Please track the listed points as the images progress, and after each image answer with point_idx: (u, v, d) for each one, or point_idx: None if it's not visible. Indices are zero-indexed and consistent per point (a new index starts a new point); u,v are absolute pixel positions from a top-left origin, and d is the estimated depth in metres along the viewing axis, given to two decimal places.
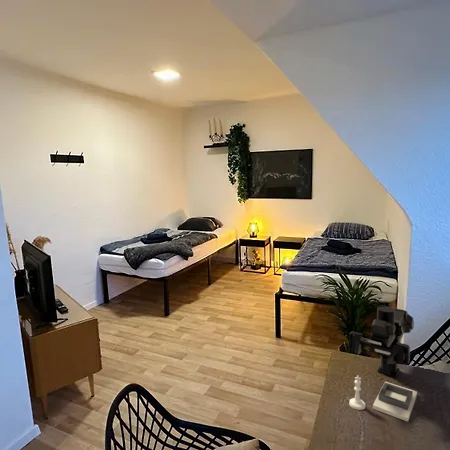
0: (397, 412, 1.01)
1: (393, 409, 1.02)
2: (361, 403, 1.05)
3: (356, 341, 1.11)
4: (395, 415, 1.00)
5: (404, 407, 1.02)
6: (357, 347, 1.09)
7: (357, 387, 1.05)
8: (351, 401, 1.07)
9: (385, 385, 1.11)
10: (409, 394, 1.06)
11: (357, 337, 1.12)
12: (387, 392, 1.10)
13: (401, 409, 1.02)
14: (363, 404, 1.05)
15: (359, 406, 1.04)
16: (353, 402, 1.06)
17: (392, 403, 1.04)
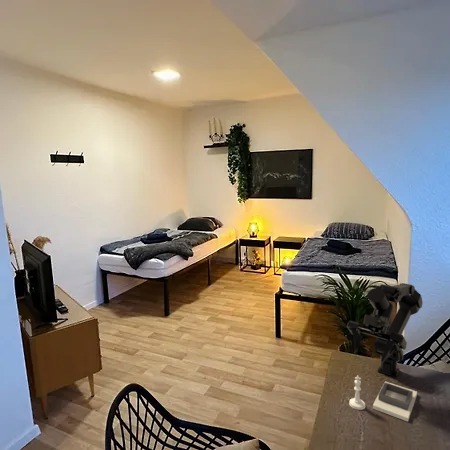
0: (397, 412, 1.01)
1: (393, 409, 1.02)
2: (361, 403, 1.05)
3: (353, 335, 1.16)
4: (395, 415, 1.00)
5: (404, 407, 1.02)
6: (355, 344, 1.14)
7: (357, 387, 1.05)
8: (351, 401, 1.07)
9: (385, 385, 1.11)
10: (409, 394, 1.06)
11: (354, 331, 1.16)
12: (387, 392, 1.10)
13: (401, 409, 1.02)
14: (363, 404, 1.05)
15: (359, 406, 1.04)
16: (353, 402, 1.06)
17: (392, 403, 1.04)
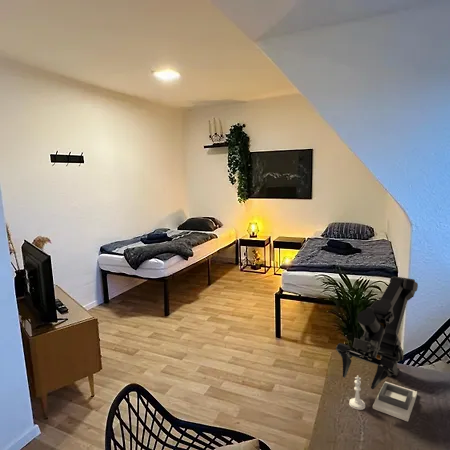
0: (397, 412, 1.01)
1: (393, 409, 1.02)
2: (361, 403, 1.05)
3: (343, 359, 1.11)
4: (395, 415, 1.00)
5: (404, 407, 1.02)
6: (344, 369, 1.09)
7: (357, 387, 1.05)
8: (351, 401, 1.07)
9: (385, 385, 1.11)
10: (409, 394, 1.06)
11: (343, 354, 1.11)
12: (387, 392, 1.10)
13: (401, 409, 1.02)
14: (363, 404, 1.05)
15: (359, 406, 1.04)
16: (353, 402, 1.06)
17: (392, 403, 1.04)
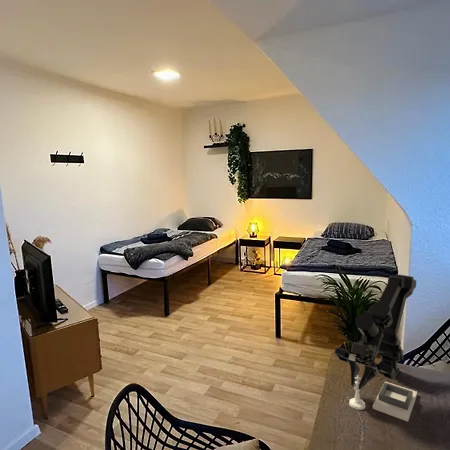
0: (397, 412, 1.01)
1: (393, 409, 1.02)
2: (361, 403, 1.05)
3: (351, 367, 1.08)
4: (395, 415, 1.00)
5: (404, 407, 1.02)
6: (352, 377, 1.06)
7: (357, 387, 1.05)
8: (351, 401, 1.07)
9: (385, 385, 1.11)
10: (409, 394, 1.06)
11: (351, 362, 1.08)
12: (387, 392, 1.10)
13: (401, 409, 1.02)
14: (363, 404, 1.05)
15: (359, 406, 1.04)
16: (353, 402, 1.06)
17: (392, 403, 1.04)
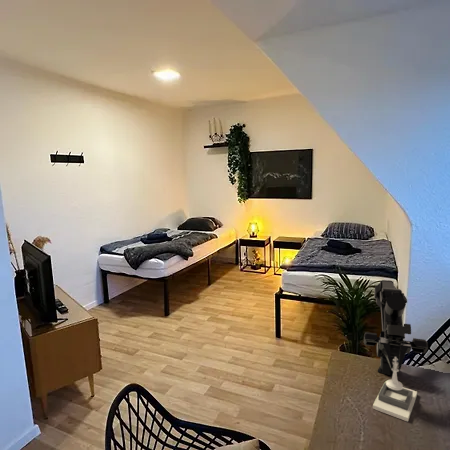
0: (397, 412, 1.01)
1: (393, 409, 1.02)
2: (399, 383, 1.06)
3: (386, 349, 1.08)
4: (395, 415, 1.00)
5: (404, 407, 1.02)
6: (390, 359, 1.06)
7: (395, 368, 1.06)
8: (389, 383, 1.06)
9: (385, 385, 1.11)
10: (409, 394, 1.06)
11: (386, 345, 1.08)
12: (387, 392, 1.10)
13: (401, 409, 1.02)
14: (401, 383, 1.06)
15: (399, 386, 1.05)
16: (392, 384, 1.06)
17: (392, 403, 1.04)
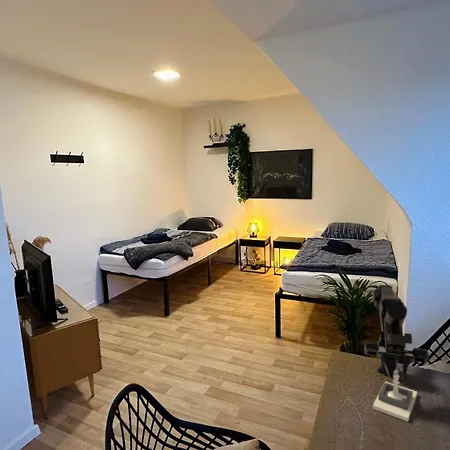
0: (397, 412, 1.01)
1: (393, 409, 1.02)
2: (400, 395, 1.07)
3: (384, 358, 1.08)
4: (395, 415, 1.00)
5: (404, 407, 1.02)
6: (388, 368, 1.07)
7: (396, 380, 1.06)
8: (390, 396, 1.07)
9: (385, 385, 1.11)
10: (409, 394, 1.06)
11: (384, 354, 1.08)
12: (387, 392, 1.10)
13: (401, 409, 1.02)
14: (402, 396, 1.07)
15: (400, 399, 1.05)
16: (393, 396, 1.06)
17: (392, 403, 1.04)
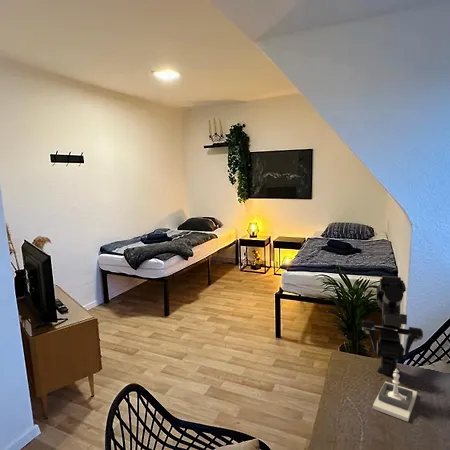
0: (397, 412, 1.01)
1: (393, 409, 1.02)
2: (400, 395, 1.07)
3: (371, 335, 1.14)
4: (395, 415, 1.00)
5: (404, 407, 1.02)
6: (374, 344, 1.13)
7: (396, 380, 1.06)
8: (390, 396, 1.07)
9: (385, 385, 1.11)
10: (409, 394, 1.06)
11: (371, 331, 1.14)
12: (387, 392, 1.10)
13: (401, 409, 1.02)
14: (402, 396, 1.07)
15: (400, 399, 1.05)
16: (393, 396, 1.06)
17: (392, 403, 1.04)
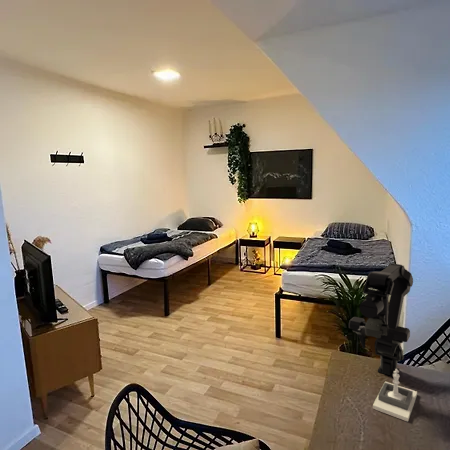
0: (397, 412, 1.01)
1: (393, 409, 1.02)
2: (400, 395, 1.07)
3: (358, 334, 1.16)
4: (395, 415, 1.00)
5: (404, 407, 1.02)
6: (362, 342, 1.16)
7: (396, 380, 1.06)
8: (390, 396, 1.07)
9: (385, 385, 1.11)
10: (409, 394, 1.06)
11: (357, 332, 1.16)
12: (387, 392, 1.10)
13: (401, 409, 1.02)
14: (402, 396, 1.07)
15: (400, 399, 1.05)
16: (393, 396, 1.06)
17: (392, 403, 1.04)
